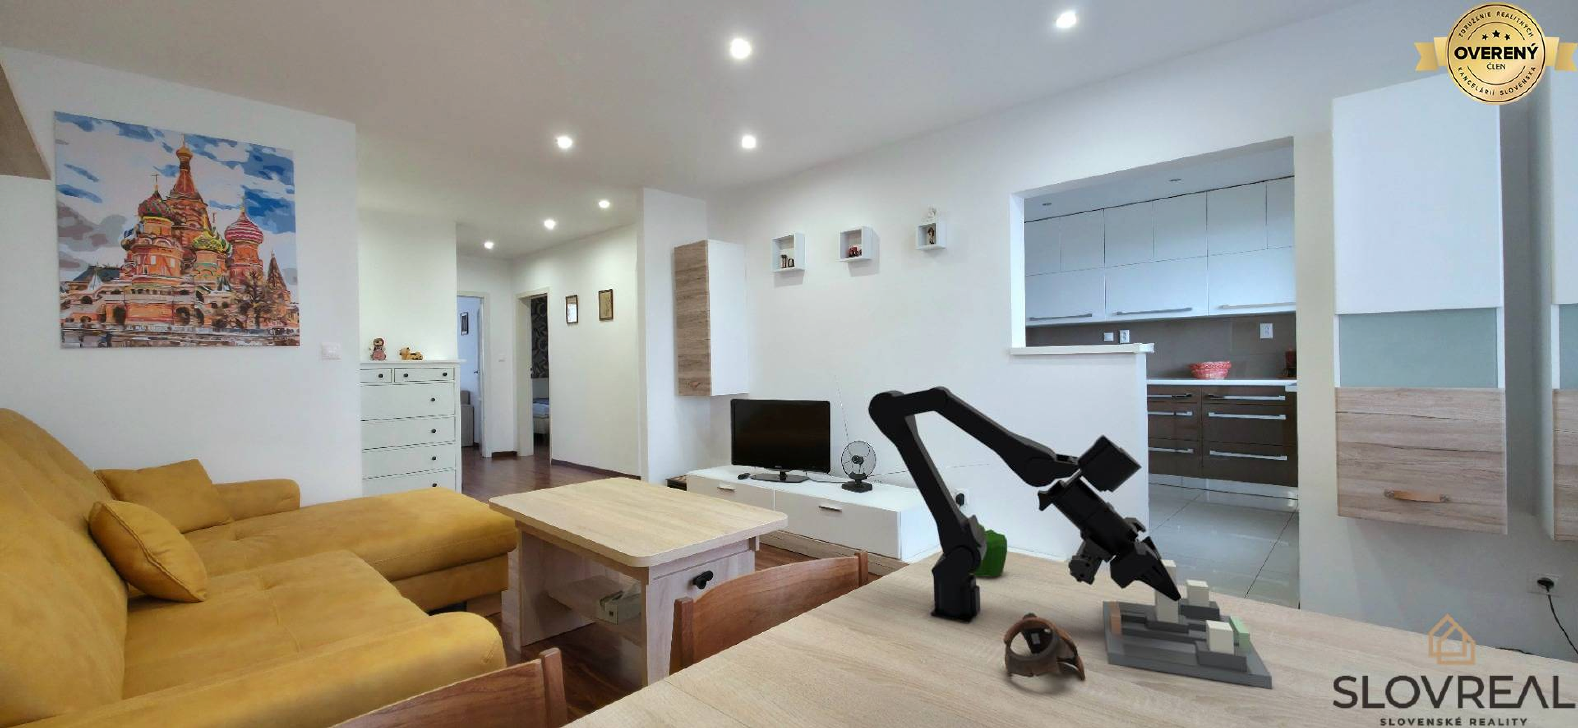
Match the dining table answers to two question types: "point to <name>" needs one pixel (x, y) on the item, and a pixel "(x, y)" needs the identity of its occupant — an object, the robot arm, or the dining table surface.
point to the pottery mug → (1040, 648)
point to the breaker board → (1185, 641)
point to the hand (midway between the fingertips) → (1176, 595)
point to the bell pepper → (993, 555)
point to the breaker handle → (1167, 609)
